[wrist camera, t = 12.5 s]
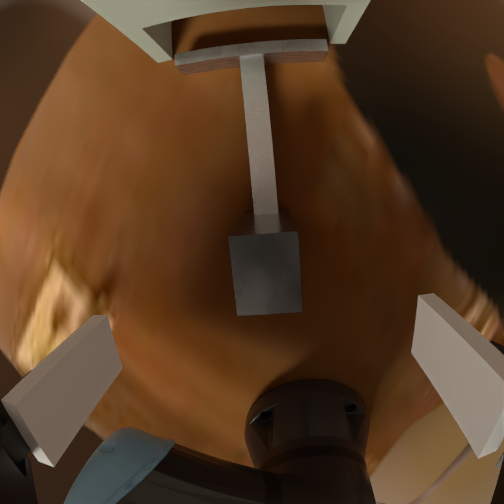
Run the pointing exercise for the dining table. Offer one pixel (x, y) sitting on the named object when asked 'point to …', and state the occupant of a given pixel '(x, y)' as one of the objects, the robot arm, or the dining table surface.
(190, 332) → the dining table surface
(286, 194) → the dining table surface
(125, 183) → the dining table surface
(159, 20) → the cabinet
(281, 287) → the scraper
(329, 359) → the dining table surface
